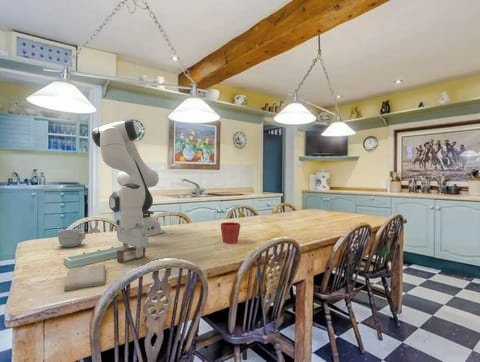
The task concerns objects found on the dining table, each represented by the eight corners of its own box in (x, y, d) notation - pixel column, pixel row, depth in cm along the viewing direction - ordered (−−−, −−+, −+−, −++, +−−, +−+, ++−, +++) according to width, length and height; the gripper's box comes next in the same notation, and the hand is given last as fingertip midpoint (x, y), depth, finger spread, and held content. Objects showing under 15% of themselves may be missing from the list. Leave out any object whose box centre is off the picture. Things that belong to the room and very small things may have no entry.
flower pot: (241, 239, 153) (241, 222, 152) (239, 244, 142) (239, 226, 142) (222, 239, 154) (222, 221, 153) (218, 244, 143) (218, 225, 143)
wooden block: (141, 256, 122) (141, 245, 122) (145, 257, 120) (145, 246, 120) (117, 262, 114) (117, 250, 114) (120, 264, 112) (120, 251, 112)
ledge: (127, 249, 132) (127, 243, 132) (136, 253, 127) (136, 246, 127) (63, 263, 112) (63, 256, 112) (70, 268, 106) (70, 260, 106)
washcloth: (105, 269, 107) (105, 261, 107) (106, 286, 91) (106, 277, 91) (69, 274, 101) (69, 266, 101) (63, 293, 85) (63, 283, 85)
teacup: (53, 247, 137) (53, 231, 137) (75, 242, 147) (75, 227, 146) (70, 250, 130) (70, 234, 130) (92, 245, 140) (92, 229, 140)
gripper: (151, 224, 112) (152, 258, 112) (127, 218, 125) (128, 248, 126) (137, 226, 107) (137, 261, 108) (113, 220, 121) (114, 251, 121)
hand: (132, 254), depth 117 cm, fingers open, 8 cm apart
